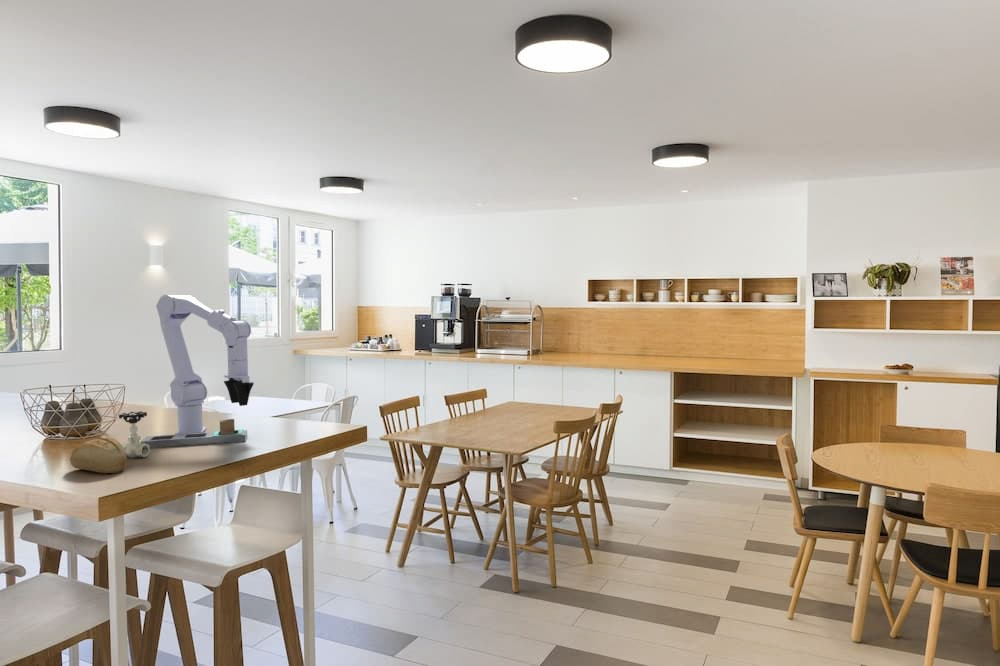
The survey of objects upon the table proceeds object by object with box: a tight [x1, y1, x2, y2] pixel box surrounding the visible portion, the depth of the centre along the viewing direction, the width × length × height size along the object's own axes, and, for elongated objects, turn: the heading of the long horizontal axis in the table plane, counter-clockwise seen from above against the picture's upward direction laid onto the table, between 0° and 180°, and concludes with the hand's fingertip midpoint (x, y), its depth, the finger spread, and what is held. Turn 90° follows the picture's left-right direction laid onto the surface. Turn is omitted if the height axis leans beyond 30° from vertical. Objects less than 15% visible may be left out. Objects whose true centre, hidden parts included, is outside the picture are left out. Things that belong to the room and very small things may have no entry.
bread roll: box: [69, 437, 128, 474], centre depth 170 cm, size 10×15×8 cm, turn 70°
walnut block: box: [219, 418, 236, 435], centre depth 206 cm, size 4×4×6 cm
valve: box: [118, 410, 151, 459], centre depth 184 cm, size 7×7×12 cm
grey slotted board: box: [140, 428, 248, 449], centre depth 203 cm, size 8×28×2 cm, turn 106°
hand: (239, 404), depth 212 cm, fingers open, 7 cm apart
